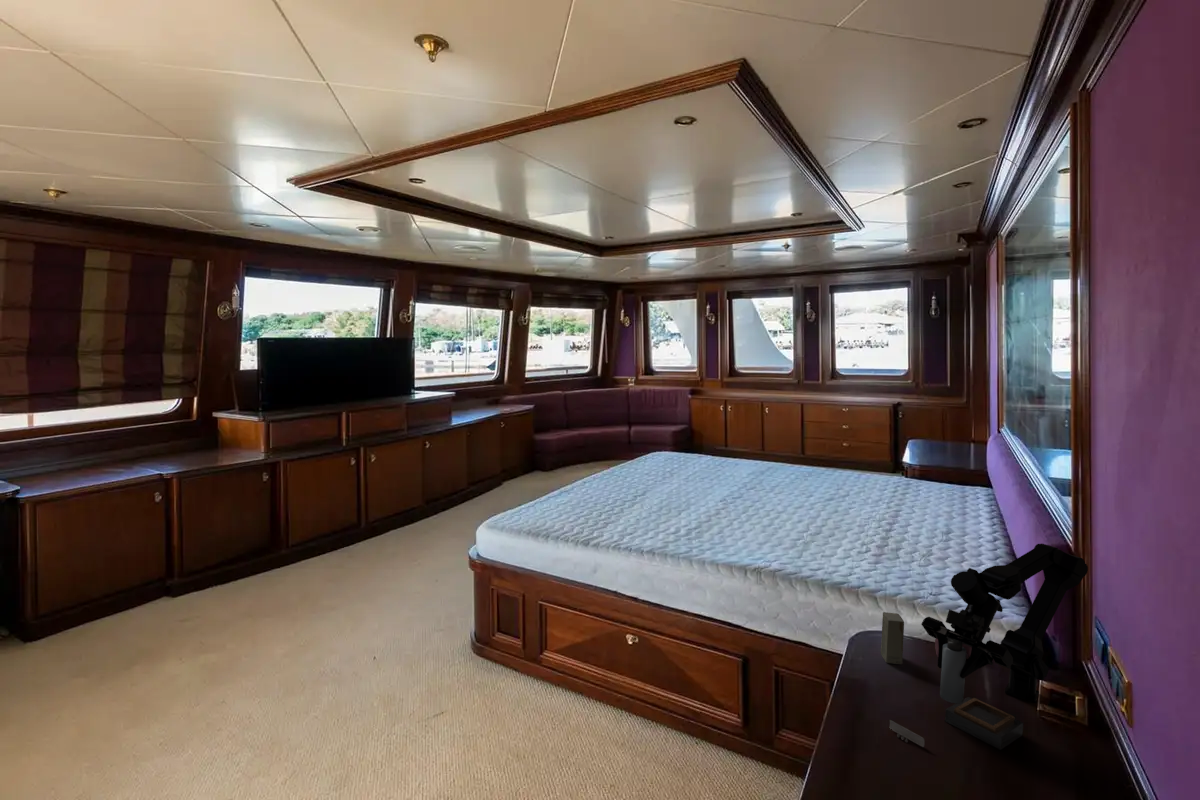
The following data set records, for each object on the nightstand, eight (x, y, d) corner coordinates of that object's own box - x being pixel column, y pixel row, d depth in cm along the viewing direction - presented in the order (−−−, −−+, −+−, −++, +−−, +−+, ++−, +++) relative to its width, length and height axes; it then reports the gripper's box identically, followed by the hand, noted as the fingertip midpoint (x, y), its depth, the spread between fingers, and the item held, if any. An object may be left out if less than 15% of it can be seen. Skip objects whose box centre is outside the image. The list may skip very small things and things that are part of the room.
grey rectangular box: (967, 708, 149) (968, 693, 149) (1022, 735, 139) (1023, 719, 139) (944, 721, 144) (946, 705, 144) (1000, 750, 134) (1001, 733, 134)
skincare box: (902, 665, 169) (905, 622, 168) (885, 663, 170) (888, 620, 169) (896, 654, 176) (898, 612, 175) (880, 652, 177) (882, 611, 176)
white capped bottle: (943, 689, 147) (946, 635, 146) (965, 697, 144) (969, 642, 143) (937, 697, 144) (940, 642, 142) (960, 706, 140) (964, 649, 139)
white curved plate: (914, 754, 132) (915, 741, 132) (880, 735, 139) (881, 722, 139) (924, 749, 134) (924, 735, 134) (889, 729, 141) (890, 717, 141)
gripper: (927, 584, 152) (898, 638, 147) (1010, 612, 136) (980, 673, 131) (943, 608, 157) (916, 661, 152) (1025, 638, 141) (997, 698, 136)
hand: (950, 672), depth 142 cm, fingers closed on white capped bottle, 5 cm apart
